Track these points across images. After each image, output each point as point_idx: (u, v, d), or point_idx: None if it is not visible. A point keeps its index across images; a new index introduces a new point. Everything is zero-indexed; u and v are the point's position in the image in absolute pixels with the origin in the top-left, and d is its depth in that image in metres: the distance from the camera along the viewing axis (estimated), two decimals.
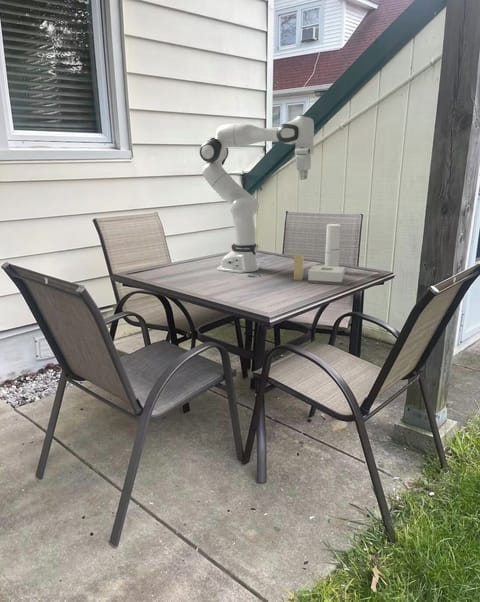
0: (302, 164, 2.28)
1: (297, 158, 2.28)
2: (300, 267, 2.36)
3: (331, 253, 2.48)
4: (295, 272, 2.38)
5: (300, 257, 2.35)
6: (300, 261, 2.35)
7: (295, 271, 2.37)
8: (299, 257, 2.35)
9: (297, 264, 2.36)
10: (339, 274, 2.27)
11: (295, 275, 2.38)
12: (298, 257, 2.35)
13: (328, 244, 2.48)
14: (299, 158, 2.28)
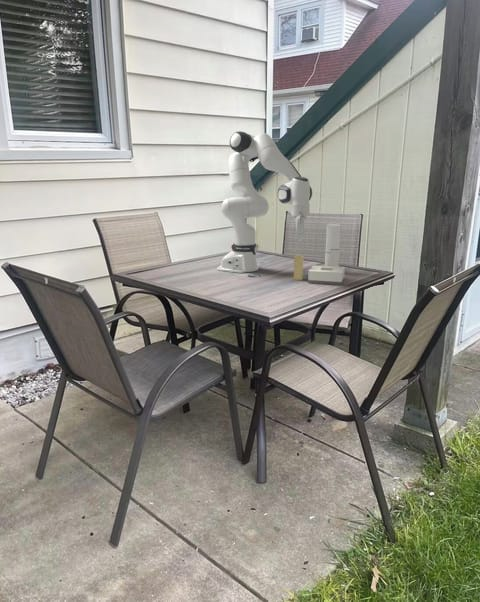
0: None
1: None
2: (300, 267, 2.36)
3: (331, 253, 2.48)
4: (295, 272, 2.38)
5: (300, 257, 2.35)
6: (300, 261, 2.35)
7: (295, 271, 2.37)
8: (299, 257, 2.35)
9: (297, 264, 2.36)
10: (339, 274, 2.27)
11: (295, 275, 2.38)
12: (298, 257, 2.35)
13: (328, 244, 2.48)
14: None
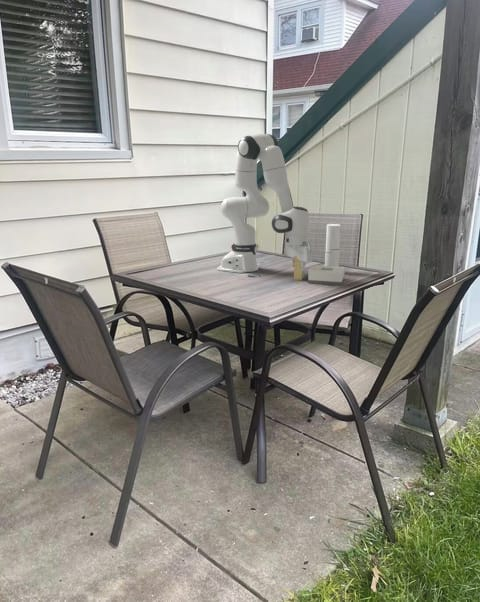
0: None
1: None
2: None
3: (331, 253, 2.48)
4: (295, 272, 2.38)
5: None
6: (300, 261, 2.35)
7: (295, 271, 2.37)
8: None
9: (297, 264, 2.36)
10: (339, 274, 2.27)
11: (295, 275, 2.38)
12: None
13: (328, 244, 2.48)
14: None
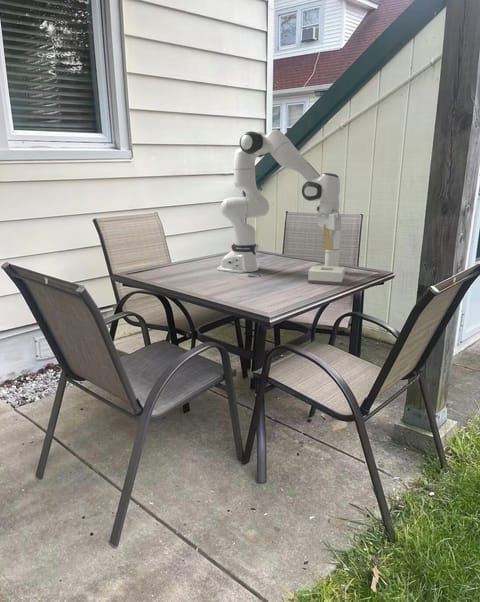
0: None
1: None
2: None
3: (331, 253, 2.48)
4: (324, 242, 2.29)
5: None
6: (329, 230, 2.27)
7: (324, 241, 2.29)
8: None
9: (326, 233, 2.28)
10: (339, 274, 2.27)
11: (323, 245, 2.30)
12: None
13: None
14: None
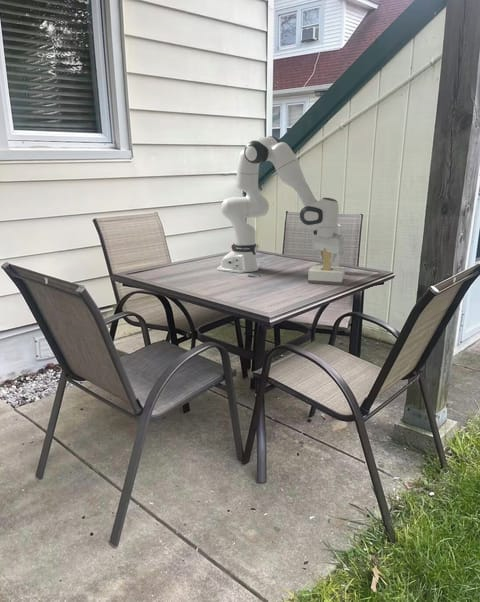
0: None
1: None
2: (329, 260, 2.30)
3: None
4: (324, 265, 2.32)
5: None
6: (329, 253, 2.30)
7: (324, 264, 2.32)
8: None
9: (326, 256, 2.30)
10: (339, 274, 2.27)
11: (323, 268, 2.32)
12: None
13: None
14: None
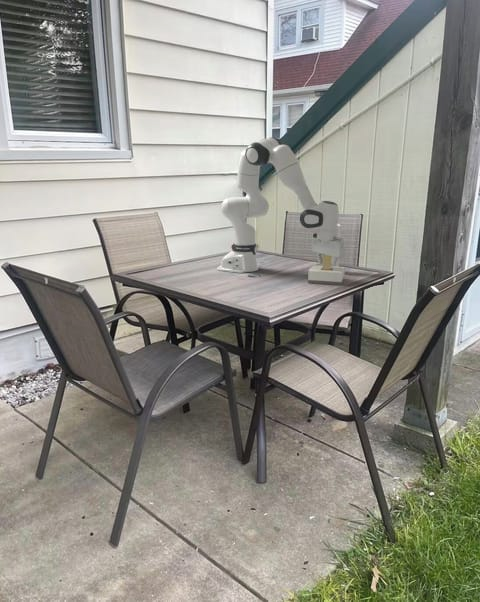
0: None
1: None
2: (329, 265, 2.32)
3: None
4: None
5: None
6: (329, 259, 2.31)
7: None
8: (328, 255, 2.30)
9: (326, 262, 2.31)
10: (339, 274, 2.27)
11: None
12: (327, 255, 2.30)
13: None
14: None
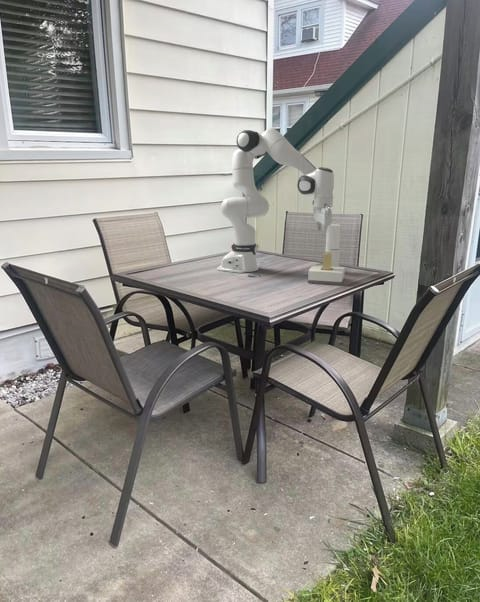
0: None
1: None
2: (329, 266, 2.32)
3: None
4: None
5: (329, 255, 2.30)
6: (329, 259, 2.31)
7: None
8: (328, 255, 2.30)
9: (326, 263, 2.31)
10: (339, 274, 2.27)
11: None
12: (327, 255, 2.30)
13: (328, 244, 2.48)
14: None
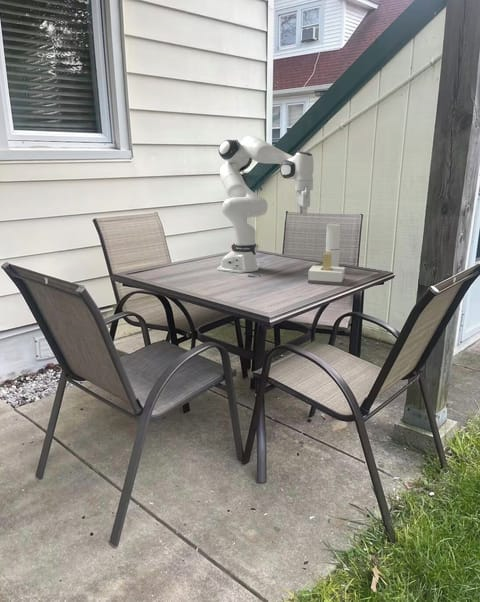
0: None
1: None
2: (329, 266, 2.32)
3: None
4: None
5: (329, 255, 2.30)
6: (329, 259, 2.31)
7: None
8: (328, 255, 2.30)
9: (326, 263, 2.31)
10: (339, 274, 2.27)
11: None
12: (327, 255, 2.30)
13: (328, 244, 2.48)
14: None
